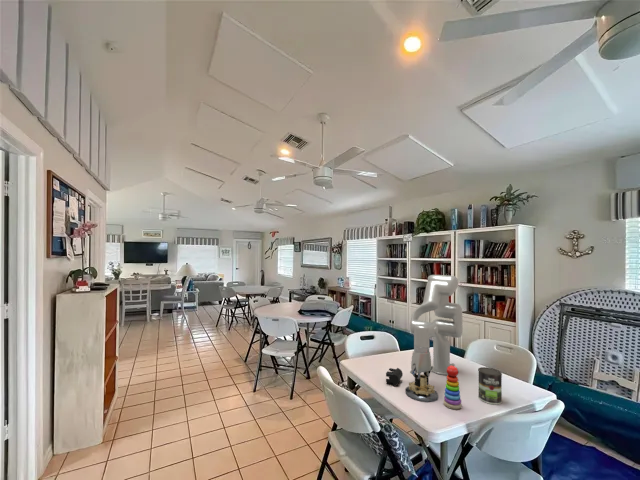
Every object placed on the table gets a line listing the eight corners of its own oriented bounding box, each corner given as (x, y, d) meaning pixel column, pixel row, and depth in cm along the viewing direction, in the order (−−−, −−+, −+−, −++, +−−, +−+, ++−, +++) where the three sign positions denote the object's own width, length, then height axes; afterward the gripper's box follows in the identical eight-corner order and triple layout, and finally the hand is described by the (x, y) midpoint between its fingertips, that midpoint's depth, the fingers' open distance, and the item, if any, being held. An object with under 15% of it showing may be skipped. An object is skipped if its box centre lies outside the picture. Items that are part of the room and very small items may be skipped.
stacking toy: (440, 401, 145) (440, 362, 146) (456, 401, 146) (455, 362, 147) (448, 410, 137) (448, 368, 138) (465, 409, 138) (465, 368, 139)
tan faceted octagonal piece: (421, 382, 161) (421, 370, 161) (439, 391, 150) (439, 378, 150) (403, 386, 155) (403, 374, 156) (422, 397, 144) (422, 383, 145)
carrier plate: (420, 385, 163) (420, 378, 163) (445, 397, 149) (445, 390, 149) (398, 390, 156) (398, 383, 156) (422, 404, 142) (422, 396, 142)
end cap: (398, 387, 160) (398, 374, 160) (385, 384, 163) (385, 372, 164) (402, 380, 169) (402, 368, 169) (390, 378, 172) (390, 366, 172)
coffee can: (504, 406, 141) (503, 376, 142) (479, 402, 145) (479, 372, 146) (499, 397, 151) (499, 368, 152) (477, 393, 155) (476, 365, 156)
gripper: (427, 344, 161) (427, 379, 160) (404, 349, 153) (403, 385, 152) (439, 348, 154) (439, 384, 153) (415, 353, 146) (414, 391, 145)
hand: (421, 384), depth 153 cm, fingers closed on tan faceted octagonal piece, 5 cm apart
